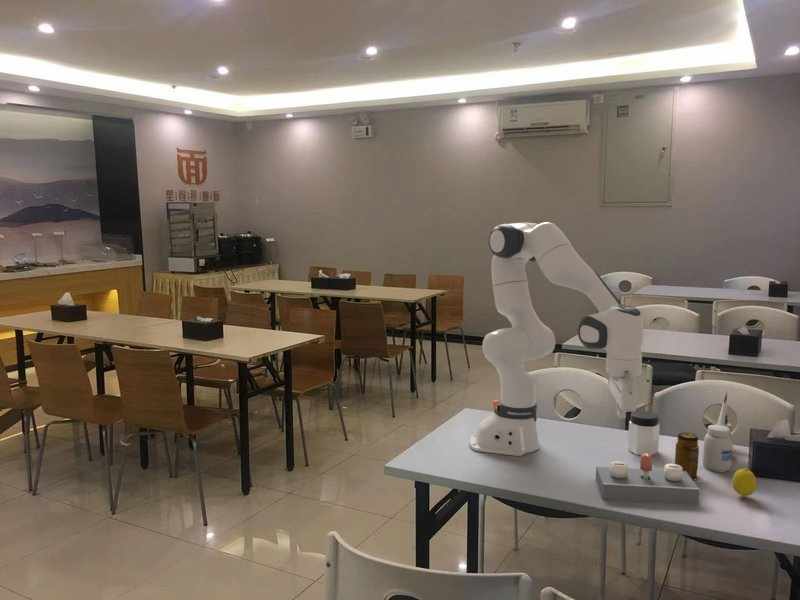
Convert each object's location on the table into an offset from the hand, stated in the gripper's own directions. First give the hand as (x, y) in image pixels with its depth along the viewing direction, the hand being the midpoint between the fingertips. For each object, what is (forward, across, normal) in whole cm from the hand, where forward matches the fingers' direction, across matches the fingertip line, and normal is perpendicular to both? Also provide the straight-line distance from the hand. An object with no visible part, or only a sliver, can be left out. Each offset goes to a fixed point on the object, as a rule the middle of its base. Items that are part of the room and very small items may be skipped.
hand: (621, 417), depth 171 cm
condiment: (+21, +12, -21) cm, 32 cm away
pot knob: (+18, 0, -7) cm, 19 cm away
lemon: (+21, 0, -32) cm, 38 cm away
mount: (+21, 0, -7) cm, 22 cm away
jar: (+21, +30, -13) cm, 39 cm away
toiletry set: (+21, +27, -35) cm, 49 cm away
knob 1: (+20, 0, 0) cm, 20 cm away
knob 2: (+20, 0, -14) cm, 25 cm away
